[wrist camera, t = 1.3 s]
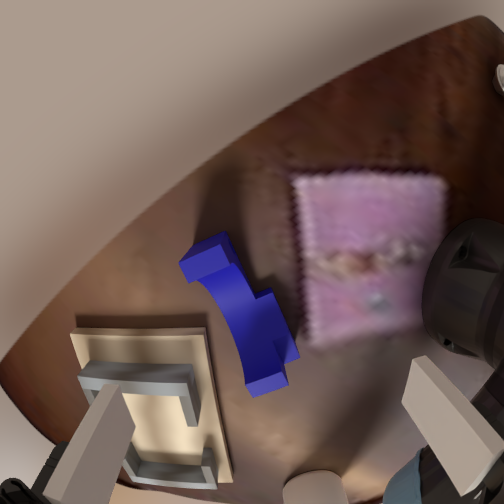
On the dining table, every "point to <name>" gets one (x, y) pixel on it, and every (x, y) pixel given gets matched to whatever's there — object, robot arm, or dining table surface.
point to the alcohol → (315, 489)
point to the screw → (499, 79)
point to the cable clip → (244, 313)
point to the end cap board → (161, 401)
